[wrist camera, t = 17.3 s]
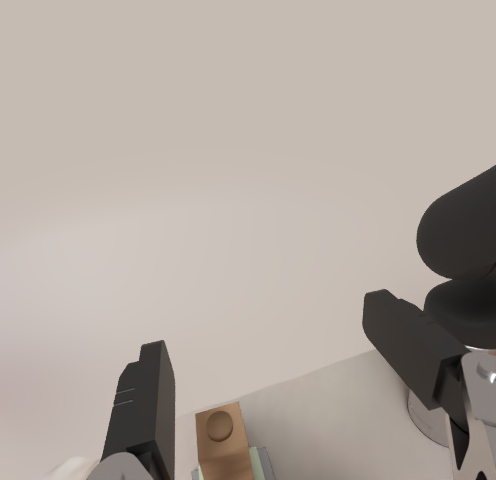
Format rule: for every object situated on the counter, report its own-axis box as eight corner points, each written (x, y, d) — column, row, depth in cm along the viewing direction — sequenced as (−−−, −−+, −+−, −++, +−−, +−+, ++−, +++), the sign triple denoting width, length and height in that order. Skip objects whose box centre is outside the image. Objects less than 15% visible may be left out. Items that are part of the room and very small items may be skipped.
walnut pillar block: (248, 461, 34) (237, 396, 29) (258, 507, 30) (247, 439, 25) (210, 473, 33) (193, 408, 28) (215, 522, 29) (196, 454, 25)
